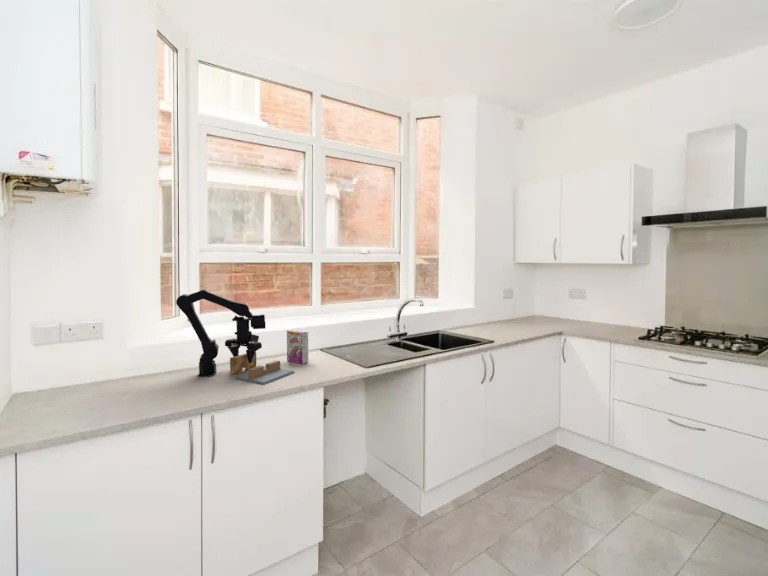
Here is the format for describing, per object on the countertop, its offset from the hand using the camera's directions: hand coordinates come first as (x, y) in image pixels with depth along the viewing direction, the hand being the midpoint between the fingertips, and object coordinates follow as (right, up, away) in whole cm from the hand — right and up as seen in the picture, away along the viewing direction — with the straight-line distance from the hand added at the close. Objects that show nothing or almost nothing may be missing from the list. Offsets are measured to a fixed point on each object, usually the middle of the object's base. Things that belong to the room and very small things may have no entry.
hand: (243, 361), depth 192 cm
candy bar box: (+22, -4, +19) cm, 29 cm away
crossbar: (0, -5, 0) cm, 5 cm away
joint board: (+12, -5, -6) cm, 14 cm away
